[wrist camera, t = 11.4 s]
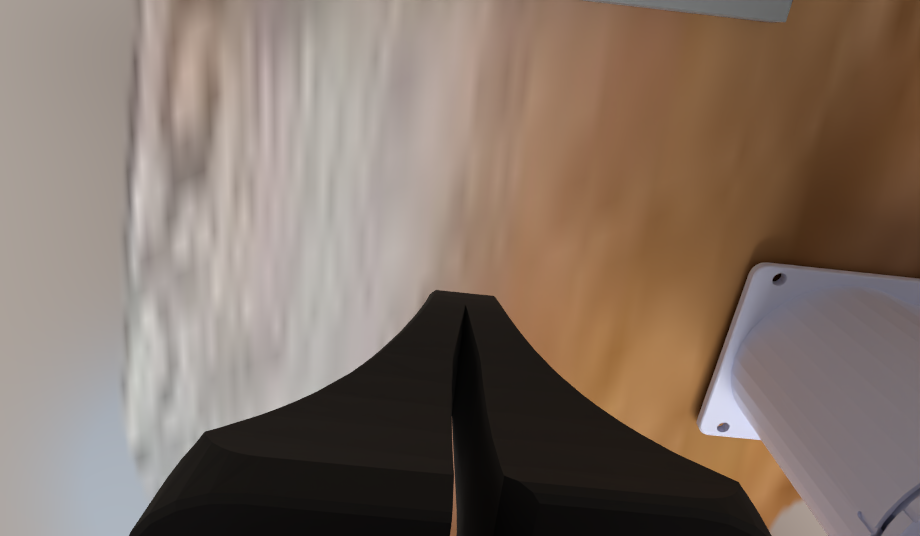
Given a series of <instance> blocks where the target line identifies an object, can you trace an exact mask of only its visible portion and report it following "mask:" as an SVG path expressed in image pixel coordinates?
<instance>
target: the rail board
mask: <svg viewBox="0 0 920 536" xmlns="http://www.w3.org/2000/svg"><path fill="white" fill-rule="evenodd" d="M583 1H592V2H601V3H609V4H618V5H626V6H635V7H643V8H652V9H660V10H669V11H677V12H686V13H694V14H703V15H711V16H720V17H728V18H737V19H746V20H754V21H763V22H786V20H787V16H788V13H789V10H790V7H791V4H792V1H793V0H583Z"/></svg>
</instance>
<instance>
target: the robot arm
mask: <svg viewBox="0 0 920 536" xmlns="http://www.w3.org/2000/svg"><path fill="white" fill-rule="evenodd" d="M779 273H781V277H780V278H779V279H778V280H777V281H772V280H773V278H774V276H775V275H777V274H779ZM721 423H724V424H723V425H722V426H718V425H719V424H721ZM697 425H698V427H699V429H700V431H701V432H702V433H704V434H707V435H715V436H725V437H736V438H746V439H756V440H762V442H763V443H764V445H765V446H766V447H767V449H768V450H769V452H770V453H771V455H772V456H773V458H774V459H775V460H776V462H777V463H778V465H779V466H780V468H781V469H782V470H783V472H784V473H785V475H786V476H787V478H788V479H789V480H790V482H791V483H792V485H793V486H794V488H795V489H796V491H797V492H798V493H799V495H800V496H801V498H802V499H803V501H804V502H805V503H806V505H807V506H808V508H809V509H810V511H811V512H812V513H813V515H814V516H815V518H816V519H817V521H818V522H819V524H820V525H821V526H822V528H823V529H824V531H825V532H826V534H827V535H828V536H920V279H919V278H909V277H900V276H890V275H881V274H871V273H862V272H853V271H843V270H834V269H824V268H815V267H806V266H796V265H787V264H777V263H768V262H764V263H759V264H757V265H755V266H754V267H753V268H752V269H751V271H750V272H749V275H748V277H747V280H746V283H745V286H744V289H743V292H742V294H741V297H740V300H739V303H738V306H737V309H736V311H735V314H734V317H733V320H732V323H731V325H730V328H729V331H728V334H727V337H726V340H725V342H724V345H723V348H722V351H721V354H720V356H719V359H718V362H717V365H716V368H715V371H714V373H713V376H712V379H711V382H710V385H709V388H708V390H707V393H706V396H705V399H704V402H703V404H702V407H701V410H700V413H699V416H698V419H697ZM452 427H453V447H454V466H455V485H456V504H457V536H771V534H770V532H769V530H768V529H767V527H766V525H765V523H764V522H763V520H762V518H761V516H760V514H759V513H758V511H757V510H756V508H755V506H754V505H753V503H752V502H751V500H750V499H749V497H748V495H747V494H746V492H745V491H744V490H743V488H742V487H741V485H740V484H739V482H737V481H735V480H732V479H730V478H728V477H726V476H724V475H722V474H719V473H717V472H715V471H713V470H711V469H708V468H706V467H704V466H702V465H700V464H697V463H695V462H693V461H691V460H689V459H686V458H684V457H682V456H680V455H678V454H676V453H674V452H672V451H670V450H668V449H666V448H665V447H663V446H661V445H659V444H657V443H656V442H654V441H652V440H650V439H648V438H647V437H645V436H643V435H641V434H639V433H638V432H636V431H635V430H633V429H631V428H630V427H628V426H626V425H625V424H623V423H622V422H620V421H619V420H617V419H616V418H614V417H613V416H611V415H610V414H608V413H607V412H605V411H604V410H602V409H601V408H600V407H598V406H597V405H595V404H594V403H593V402H591V401H590V400H589V399H587V398H586V397H585V396H583V395H582V394H581V393H580V392H579V391H577V390H576V389H575V388H574V387H573V386H571V385H570V384H569V383H568V382H567V381H566V380H564V379H563V378H562V377H561V376H560V375H559V374H558V373H557V372H556V371H554V370H553V369H552V368H551V367H550V366H549V365H548V363H547V362H546V361H545V360H544V359H543V358H542V357H541V356H540V355H539V354H538V353H537V352H536V351H535V350H534V349H533V347H532V346H531V345H530V344H529V343H528V341H527V340H526V339H525V338H524V337H523V335H522V334H521V333H520V331H519V330H518V329H517V328H516V326H515V325H514V323H513V322H512V321H511V319H510V318H509V316H508V315H507V314H506V312H505V311H504V309H503V308H502V306H501V305H500V303H499V302H498V301H497V299H496V298H495V297H494V296H488V295H478V294H469V293H459V292H449V291H440V290H435V291H434V292H432V293H431V294H430V295H429V297H428V299H427V300H426V302H425V303H424V305H423V306H422V307H421V309H420V310H419V311H418V312H417V314H416V315H415V316H414V317H413V318H412V320H411V321H410V322H409V323H408V324H407V325H406V326H405V327H404V328H403V329H402V331H401V332H400V333H399V334H398V335H396V336H395V337H394V338H393V339H392V340H391V341H390V342H389V343H388V344H387V345H386V346H385V347H383V348H382V349H381V350H380V351H379V352H378V353H377V354H375V355H374V356H373V357H372V358H370V359H369V360H368V361H367V362H365V363H364V364H363V365H361V366H360V367H358V368H357V369H355V370H354V371H353V372H351V373H350V374H348V375H346V376H344V377H342V378H341V379H339V380H337V381H335V382H334V383H332V384H330V385H328V386H326V387H325V388H323V389H321V390H319V391H317V392H315V393H313V394H311V395H309V396H307V397H304V398H302V399H300V400H298V401H296V402H293V403H291V404H288V405H286V406H283V407H281V408H278V409H276V410H273V411H270V412H268V413H265V414H262V415H259V416H256V417H253V418H250V419H246V420H243V421H240V422H237V423H233V424H230V425H227V426H224V427H221V428H217V429H213V430H210V431H206V432H204V433H203V435H202V436H201V437H200V438H199V440H198V441H197V442H196V443H195V445H194V446H193V447H192V448H191V449H190V450H189V451H188V453H187V454H186V455H185V456H184V457H183V458H182V459H181V461H180V462H179V463H178V465H177V466H176V467H175V468H174V470H173V471H172V472H171V474H170V475H169V476H168V478H167V479H166V480H165V482H164V483H163V485H162V486H161V488H160V489H159V491H158V492H157V494H156V495H155V497H154V498H153V500H152V501H151V503H150V504H149V506H148V507H147V509H146V510H145V512H144V513H143V515H142V516H141V518H140V519H139V521H138V522H137V523H136V525H135V526H134V528H133V529H132V531H131V532H130V535H129V536H450V530H451V522H452V509H453V484H454V470H453V453H452Z"/></svg>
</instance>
